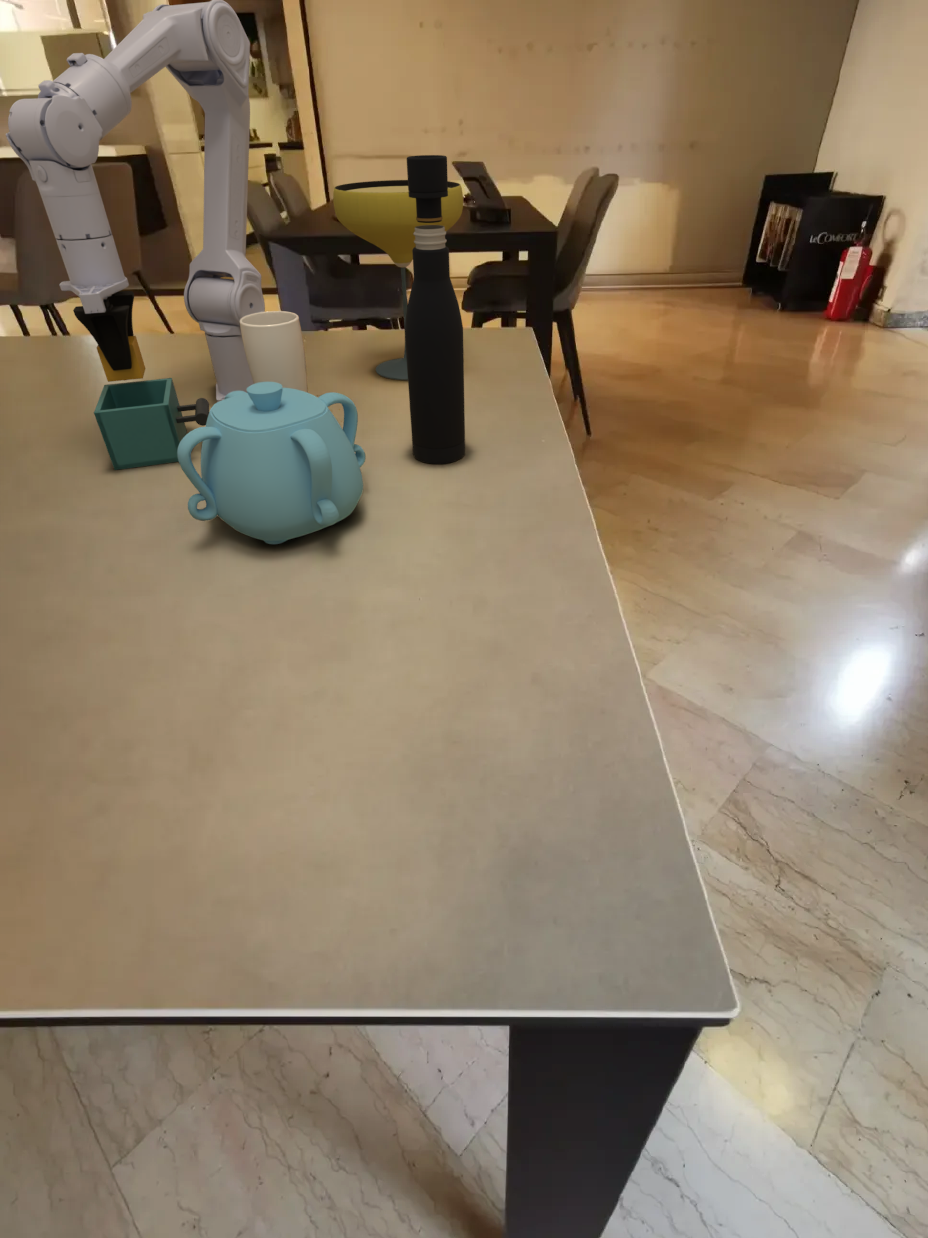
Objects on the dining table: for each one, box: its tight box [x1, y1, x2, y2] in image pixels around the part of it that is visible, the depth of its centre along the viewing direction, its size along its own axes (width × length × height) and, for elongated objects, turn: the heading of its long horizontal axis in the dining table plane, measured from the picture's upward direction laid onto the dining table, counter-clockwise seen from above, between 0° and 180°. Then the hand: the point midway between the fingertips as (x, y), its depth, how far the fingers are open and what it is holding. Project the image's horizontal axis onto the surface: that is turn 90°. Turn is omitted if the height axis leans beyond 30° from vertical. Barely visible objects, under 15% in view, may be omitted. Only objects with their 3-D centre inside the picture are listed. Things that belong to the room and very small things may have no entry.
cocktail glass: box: [332, 179, 464, 381], centre depth 100 cm, size 18×18×25 cm
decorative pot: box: [177, 382, 366, 545], centre depth 66 cm, size 16×16×14 cm
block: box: [96, 335, 146, 383], centre depth 81 cm, size 4×4×4 cm
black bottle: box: [404, 154, 466, 465], centre depth 73 cm, size 6×6×30 cm
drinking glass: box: [240, 310, 309, 393], centre depth 80 cm, size 7×7×15 cm
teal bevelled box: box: [93, 377, 210, 471], centre depth 82 cm, size 12×10×7 cm
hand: (124, 363), depth 81 cm, fingers closed on block, 4 cm apart
